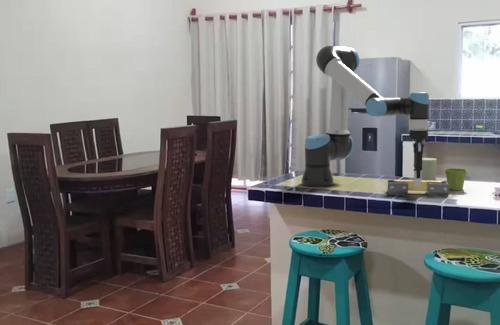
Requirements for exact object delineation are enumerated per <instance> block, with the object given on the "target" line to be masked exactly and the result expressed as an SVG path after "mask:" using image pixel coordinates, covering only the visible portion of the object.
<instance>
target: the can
mask: <svg viewBox="0 0 500 325" xmlns="http://www.w3.org/2000/svg"><path fill="white" fill-rule="evenodd" d="M437 160H438V159H437V158H436V157H435V158H433V157H422V180H435V181H437V163H438V162H437Z"/></svg>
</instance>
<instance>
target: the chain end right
mask: <svg viewBox="0 0 500 325" xmlns="http://www.w3.org/2000/svg"><path fill="white" fill-rule="evenodd" d="M441 181H442V184H437V183H428V191H425V193H426V194H427V196H429V197H430V196H433V197H449V194H450V193H449V190H450V189H449V184H447V180H441Z"/></svg>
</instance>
